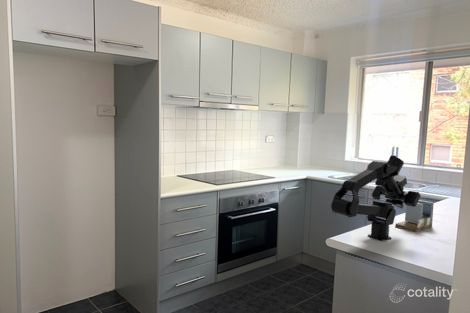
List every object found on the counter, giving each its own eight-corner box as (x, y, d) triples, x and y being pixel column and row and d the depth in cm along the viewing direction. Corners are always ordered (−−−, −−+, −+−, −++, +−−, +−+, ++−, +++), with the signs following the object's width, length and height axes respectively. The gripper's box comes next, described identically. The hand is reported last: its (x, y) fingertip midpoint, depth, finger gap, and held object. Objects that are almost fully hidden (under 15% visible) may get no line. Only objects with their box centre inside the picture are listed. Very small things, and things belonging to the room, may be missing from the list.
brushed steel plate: (430, 224, 158) (431, 203, 157) (410, 219, 165) (411, 199, 165) (432, 223, 159) (433, 202, 158) (412, 218, 167) (413, 198, 166)
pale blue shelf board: (425, 226, 153) (427, 205, 152) (404, 221, 161) (406, 201, 160) (430, 224, 156) (431, 204, 155) (409, 220, 163) (410, 200, 162)
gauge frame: (416, 232, 151) (416, 221, 150) (395, 226, 158) (395, 216, 158) (432, 226, 159) (433, 216, 159) (412, 222, 167) (412, 212, 166)
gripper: (419, 172, 139) (431, 196, 147) (376, 167, 154) (389, 189, 162) (408, 194, 135) (421, 218, 143) (365, 186, 151) (378, 208, 158)
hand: (401, 207), depth 152 cm, fingers closed
